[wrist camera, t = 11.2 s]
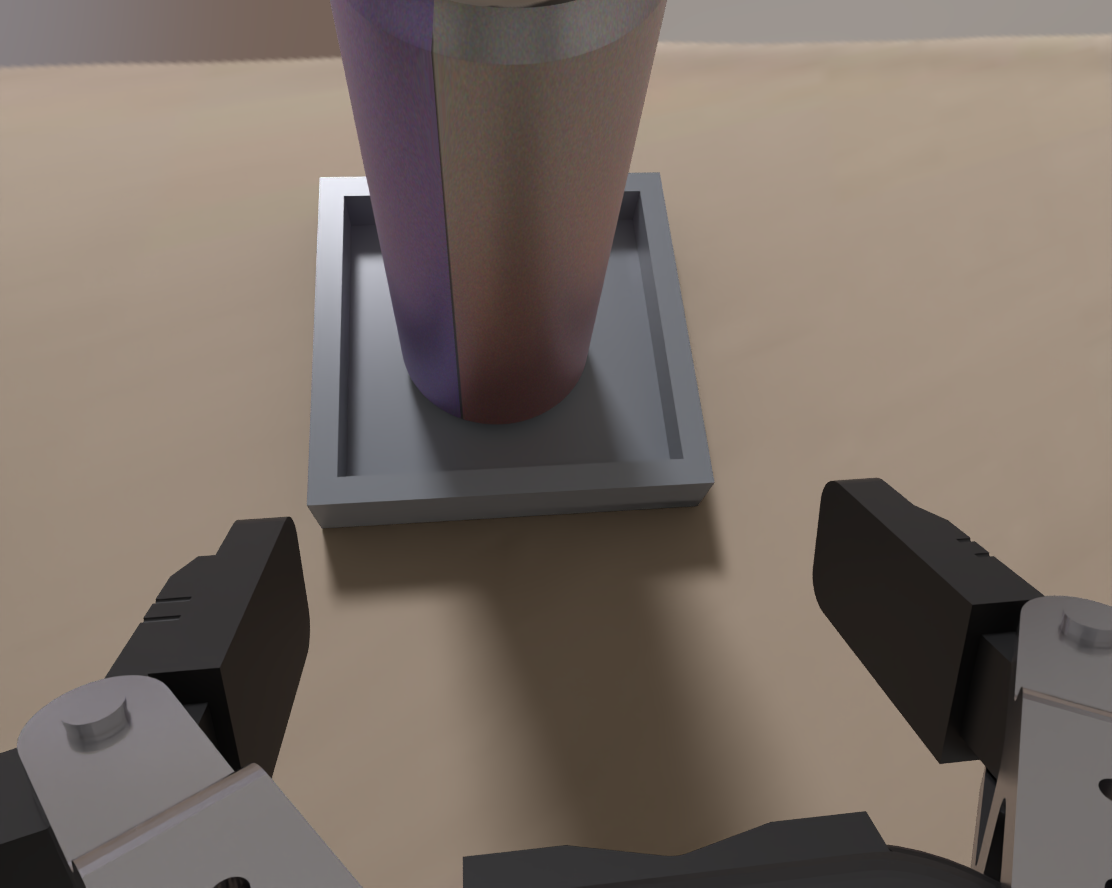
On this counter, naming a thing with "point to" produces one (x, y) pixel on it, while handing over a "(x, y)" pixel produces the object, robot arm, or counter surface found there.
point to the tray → (501, 449)
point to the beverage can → (496, 181)
